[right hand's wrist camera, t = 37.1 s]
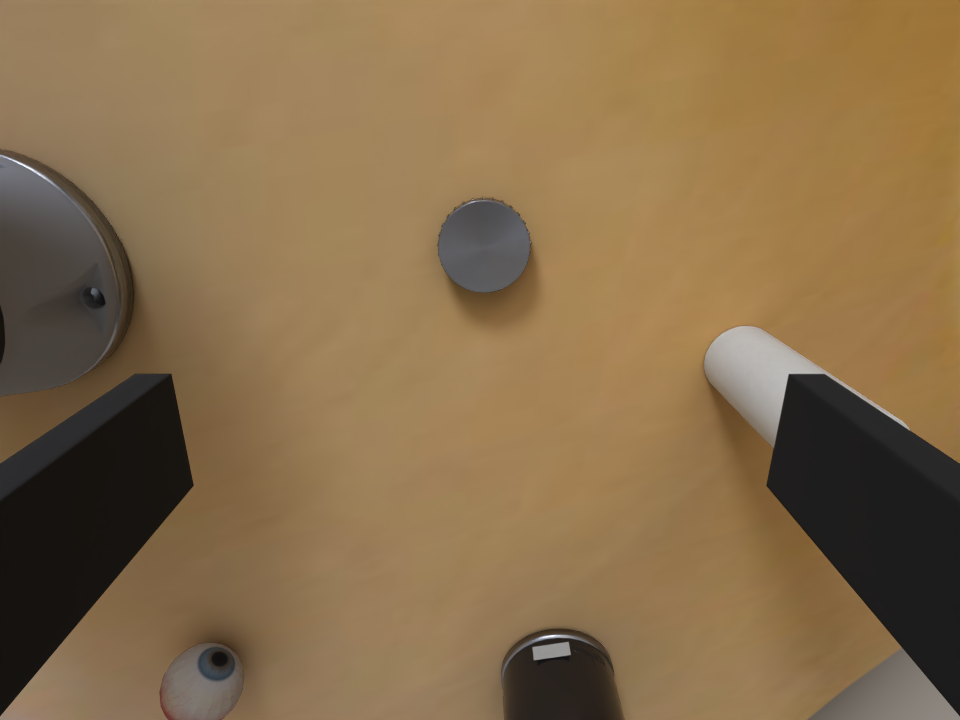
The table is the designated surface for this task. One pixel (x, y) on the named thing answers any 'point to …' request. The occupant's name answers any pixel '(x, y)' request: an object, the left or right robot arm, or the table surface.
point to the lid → (484, 245)
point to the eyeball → (202, 683)
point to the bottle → (759, 376)
